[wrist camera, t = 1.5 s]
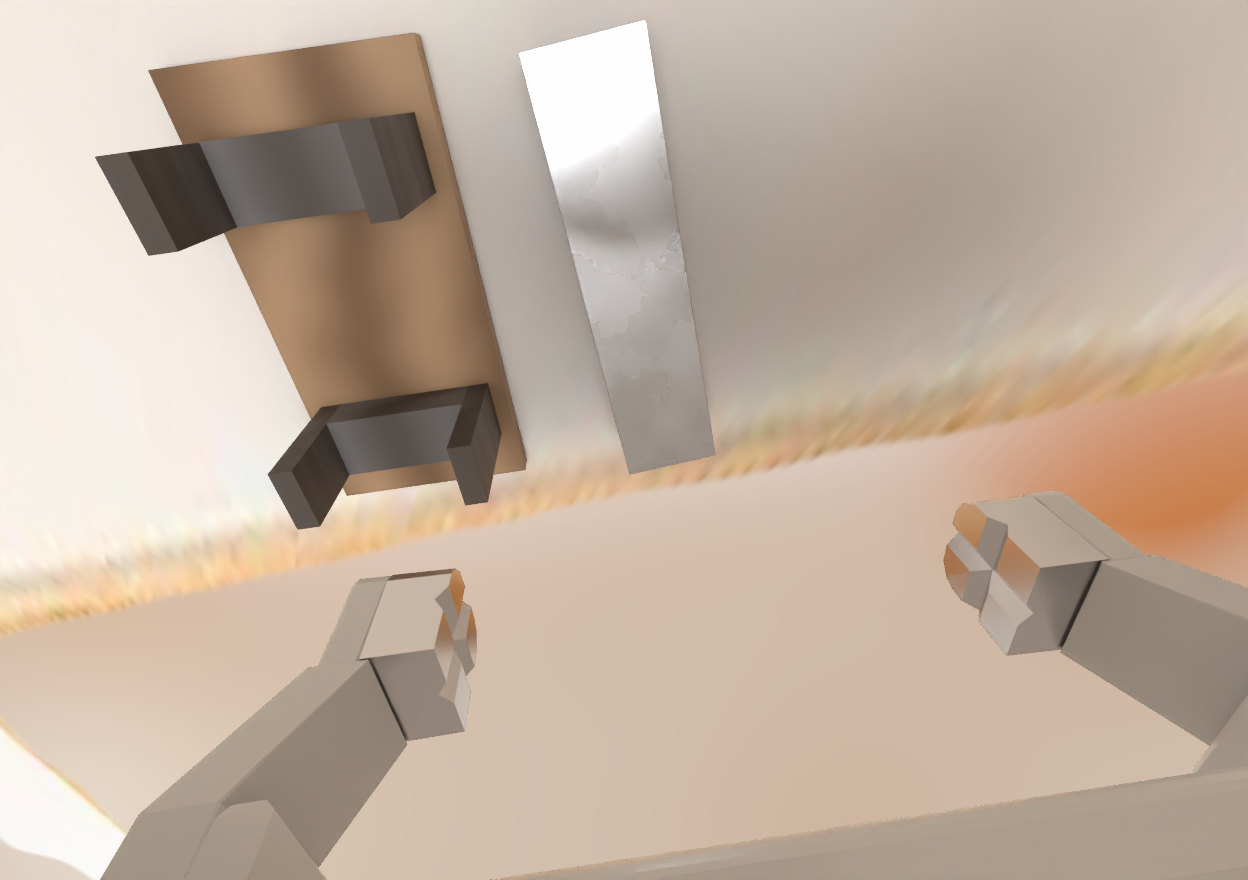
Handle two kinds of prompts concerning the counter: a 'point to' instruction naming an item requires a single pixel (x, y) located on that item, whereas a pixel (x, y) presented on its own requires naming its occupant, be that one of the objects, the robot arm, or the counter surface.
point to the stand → (340, 259)
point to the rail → (624, 236)
